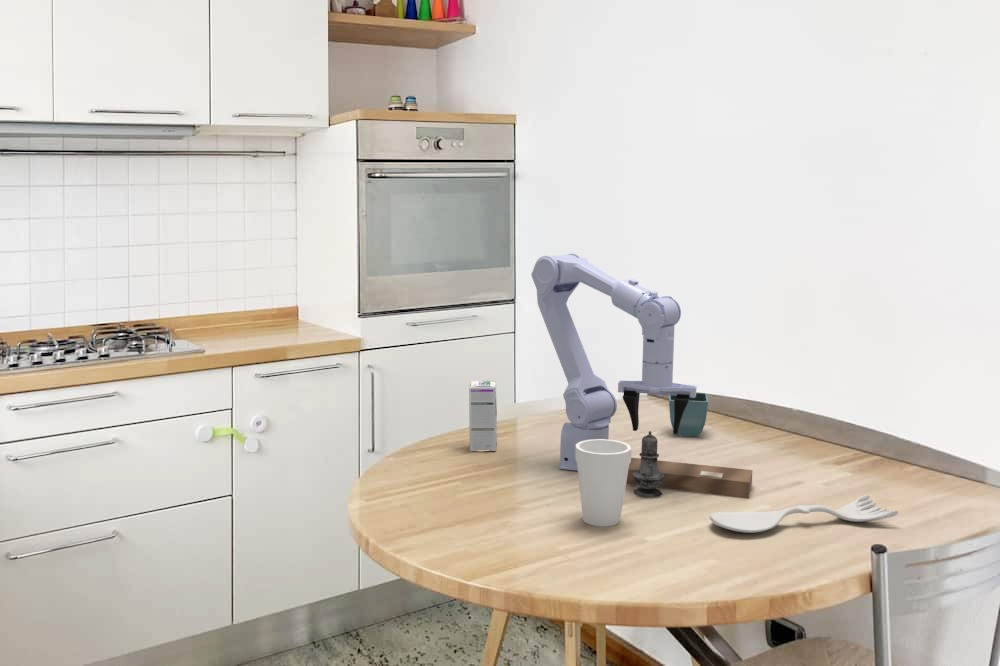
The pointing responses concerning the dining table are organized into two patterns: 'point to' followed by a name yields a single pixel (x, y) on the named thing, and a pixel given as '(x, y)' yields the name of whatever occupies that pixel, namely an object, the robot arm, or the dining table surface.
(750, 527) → the spoon
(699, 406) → the flower pot
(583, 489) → the foam cup
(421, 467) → the dining table surface
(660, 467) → the walnut fence board
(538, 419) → the dining table surface
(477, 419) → the syrup box
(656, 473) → the salt shaker
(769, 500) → the dining table surface
